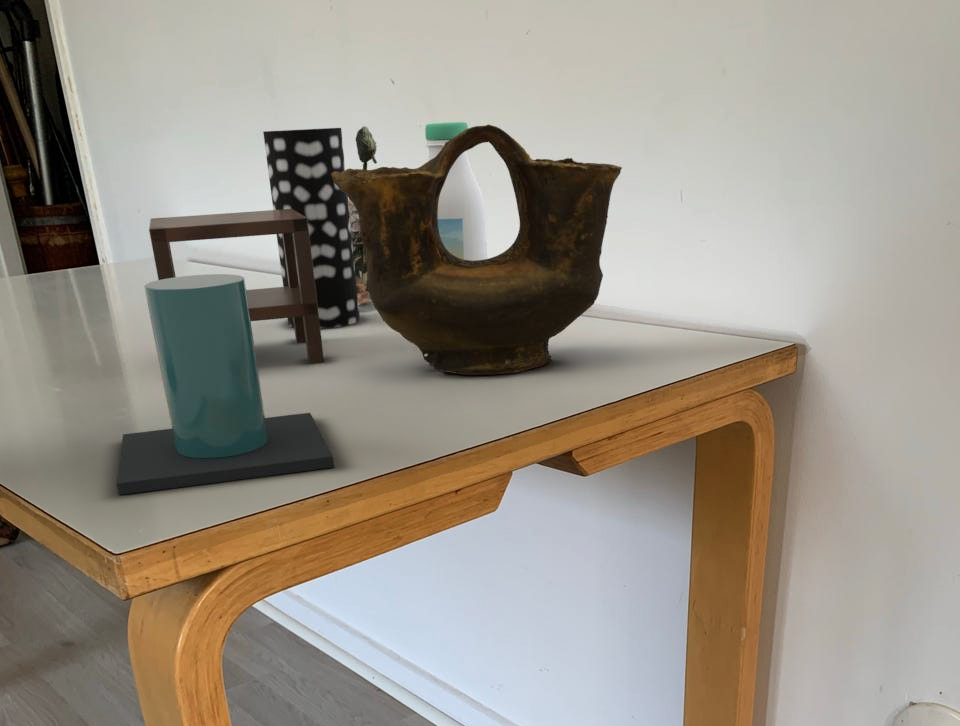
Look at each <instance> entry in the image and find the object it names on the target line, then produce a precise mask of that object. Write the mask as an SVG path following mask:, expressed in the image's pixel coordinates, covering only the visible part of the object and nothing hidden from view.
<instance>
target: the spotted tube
mask: <svg viewBox="0 0 960 726" xmlns="http://www.w3.org/2000/svg"><path fill="white" fill-rule="evenodd" d="M262 133H263V140H264V149H265V157H266V164H267V173H268V178H269V180H268V181H269V187H270V193H271V194H270V195H271V202H272V203H271V204H272V208H273V209H272V210H282V209H293V210H295V211H296V212H298V213H300V214H301V215H303V216H305V217H307V219H308V228H309V236H310V245H311V254H312V262H313V271H314V279H315V288H316V296H317V305H318V313H319V322H320V330H321V329H333V328H340V327H347V326H351V325H354V324H356V323H358V322H360V320H361V319H360V317H361V316H360V306H359V307H358V297H357V286H356V276H355V266H354V255H353V245H352V235H351V224H350V214H349V204H348V199H349V198H348V196H347V195H346V194H345V193H344V192H342V191H341V190H340V189H339V187H338V186H337V185H336V184H335V183H334V181H333V178H332V175H331V173H333V172H340V173H341V172H343V171H345V170H346V165H345V164H346V163H345V153H344V152H345V151H344V143H343V133H342V127H326V128H325V127H323V128H305V129H287V130H286V129H285V130H284V129H283V130H268V131H266V130H265V131H263V132H262ZM276 240H277V241H276V242H277V249H278V255H279V264H280V271H281V278H282V287H287V286H289V284H288V276H287V268H286V261H285V253H284V245H283V237H282V234H276ZM287 324H288V327H291V328H294V323H293V317H292V318H287Z"/></svg>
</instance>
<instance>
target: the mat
mask: <svg viewBox="0 0 960 726" xmlns="http://www.w3.org/2000/svg"><path fill="white" fill-rule="evenodd" d="M265 421H266V428H267V435H268V442H267V443H266V444H265V445H264V446H263V447H261V448H259V449H257V450H254V451H251V452H248V453H244V454H240V455H235V456H230V457H222V458H192V457H187V456H183V455H181V454H179V453H178V452H177V451H176V446H175V441H174V436H173V431H172V428H165V429H157V430H148V431H140V432H130V433H123V434H122V440H121V448H120V454H119V462H118V470H117V477H116V489H117V494H118V495H119V496H123V495H130V494H138V493H145V492H153V491H161V490H162V491H163V490H168V489H169V490H170V489H176V488H183V487H192V486H200V485H207V484H216V483H223V482H231V481H238V480H240V481H241V480H247V479H253V478H262V477H263V478H264V477H269V476H278V475H286V474H292V473H293V474H294V473H300V472H309V471H316V470H317V471H318V470H324V469H325V470H326V469H332V468H335V460H334V455H333V453H332V452H331V450H330V448H329V446H328V444H327V442H326V441H325V438H324V436H323V434H322V432H321V431H320V428H319V427H318V425H317V423H316V421H315V418H314V417H313V415H312V413H311V412H302V413H296V414H287V415H285V414H284V415H278V416H270V417H268V416H267V417H265Z"/></svg>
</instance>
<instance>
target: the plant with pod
mask: <svg viewBox="0 0 960 726" xmlns="http://www.w3.org/2000/svg"><path fill="white" fill-rule="evenodd" d="M355 143H356V149H357V150H356V151H357V155H358V159H359V161H360V162H361V163H362V169H363V170H368V162H369V161H371V160H372V162H373V163H374V164H377V163H378V161H377V160H376V156H375V155H376V153H377V146H378V145H377V142H376V141H375V139H374V137H373V133H372V132H371V131H370V130H369V127H367V126H366V125H364V126H362V127H361V128H360V129H359V130H357V133H356V137H355ZM348 204H349V214H350V224H351V235H352V245H353V255H354V266H355V276H356V286H357V297H358V307H359V308H360V306H361V305H364V304H367V303H368V302H372V301H371V297H370V294H369V292H368V289H367V287H366V280H367V256H366V249H365V245H364V244H363V242H362V238H361V236H360V223H359V215H358V212H357V209H356V208H355V206H354V204H353V203H352V202H351V201H350V199H349V198H348Z"/></svg>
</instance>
